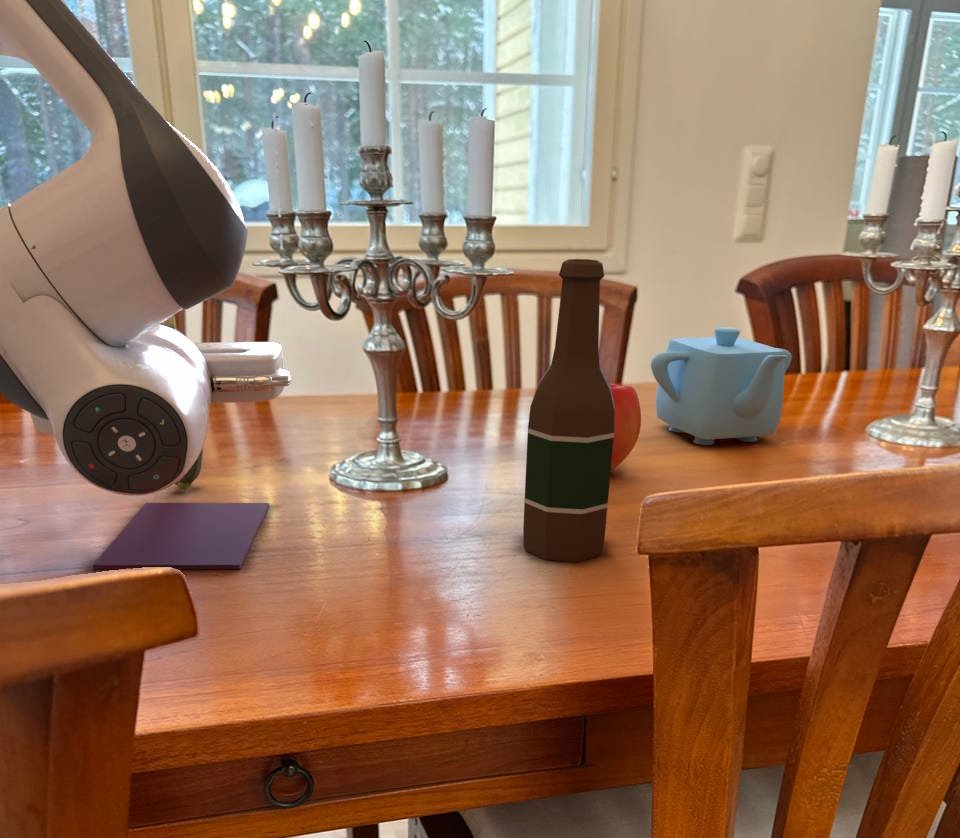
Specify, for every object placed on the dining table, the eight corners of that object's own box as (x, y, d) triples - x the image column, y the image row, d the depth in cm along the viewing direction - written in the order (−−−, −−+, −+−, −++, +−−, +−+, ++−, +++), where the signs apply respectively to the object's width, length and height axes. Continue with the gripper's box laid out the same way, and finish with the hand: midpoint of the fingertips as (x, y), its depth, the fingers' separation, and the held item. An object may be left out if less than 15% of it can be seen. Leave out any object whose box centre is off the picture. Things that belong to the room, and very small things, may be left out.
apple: (653, 471, 103) (663, 383, 98) (602, 488, 97) (610, 395, 92) (587, 454, 109) (594, 369, 104) (536, 469, 103) (540, 380, 98)
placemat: (93, 569, 74) (92, 565, 74) (146, 506, 88) (145, 502, 88) (239, 569, 75) (239, 564, 75) (269, 506, 89) (268, 502, 89)
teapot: (628, 437, 116) (639, 329, 110) (675, 413, 129) (688, 315, 122) (767, 461, 108) (787, 345, 101) (804, 433, 120) (824, 328, 114)
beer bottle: (543, 526, 86) (559, 254, 75) (619, 542, 82) (647, 260, 71) (505, 551, 80) (515, 260, 69) (585, 570, 76) (609, 266, 65)
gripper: (289, 341, 67) (282, 316, 79) (-7, 345, 63) (33, 317, 75) (295, 425, 70) (287, 388, 82) (13, 434, 66) (48, 393, 78)
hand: (164, 354), depth 79 cm, fingers open, 8 cm apart
